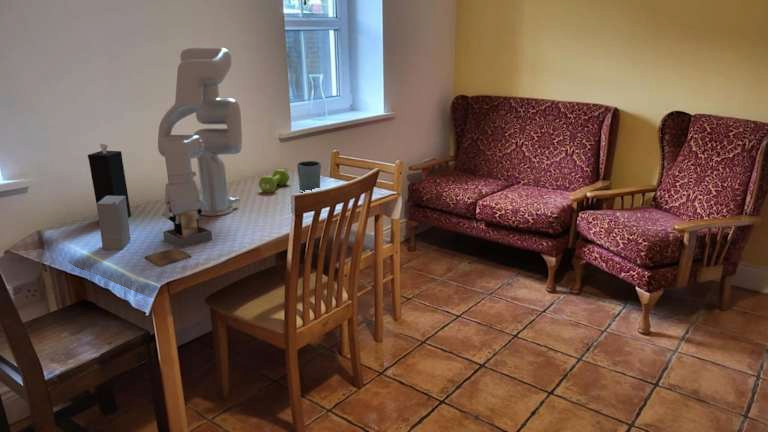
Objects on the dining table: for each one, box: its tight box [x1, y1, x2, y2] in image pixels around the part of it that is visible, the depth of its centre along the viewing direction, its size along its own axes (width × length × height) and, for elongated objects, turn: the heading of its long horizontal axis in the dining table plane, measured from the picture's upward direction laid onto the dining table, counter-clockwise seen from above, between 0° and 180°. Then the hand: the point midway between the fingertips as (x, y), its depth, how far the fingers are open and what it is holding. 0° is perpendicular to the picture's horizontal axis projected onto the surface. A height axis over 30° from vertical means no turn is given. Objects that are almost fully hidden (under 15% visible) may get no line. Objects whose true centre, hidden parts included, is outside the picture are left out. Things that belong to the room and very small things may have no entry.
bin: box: [162, 225, 213, 249], centre depth 188 cm, size 11×11×3 cm
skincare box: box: [96, 196, 132, 251], centre depth 182 cm, size 8×7×16 cm
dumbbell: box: [258, 168, 290, 194], centre depth 248 cm, size 16×8×7 cm, turn 163°
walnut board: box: [143, 246, 192, 267], centre depth 174 cm, size 10×10×1 cm
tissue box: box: [87, 143, 132, 218], centre depth 206 cm, size 8×8×28 cm
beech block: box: [177, 210, 198, 239], centre depth 187 cm, size 5×5×10 cm
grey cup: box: [296, 160, 322, 192], centre depth 243 cm, size 10×10×12 cm
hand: (187, 231), depth 188 cm, fingers closed on beech block, 5 cm apart
